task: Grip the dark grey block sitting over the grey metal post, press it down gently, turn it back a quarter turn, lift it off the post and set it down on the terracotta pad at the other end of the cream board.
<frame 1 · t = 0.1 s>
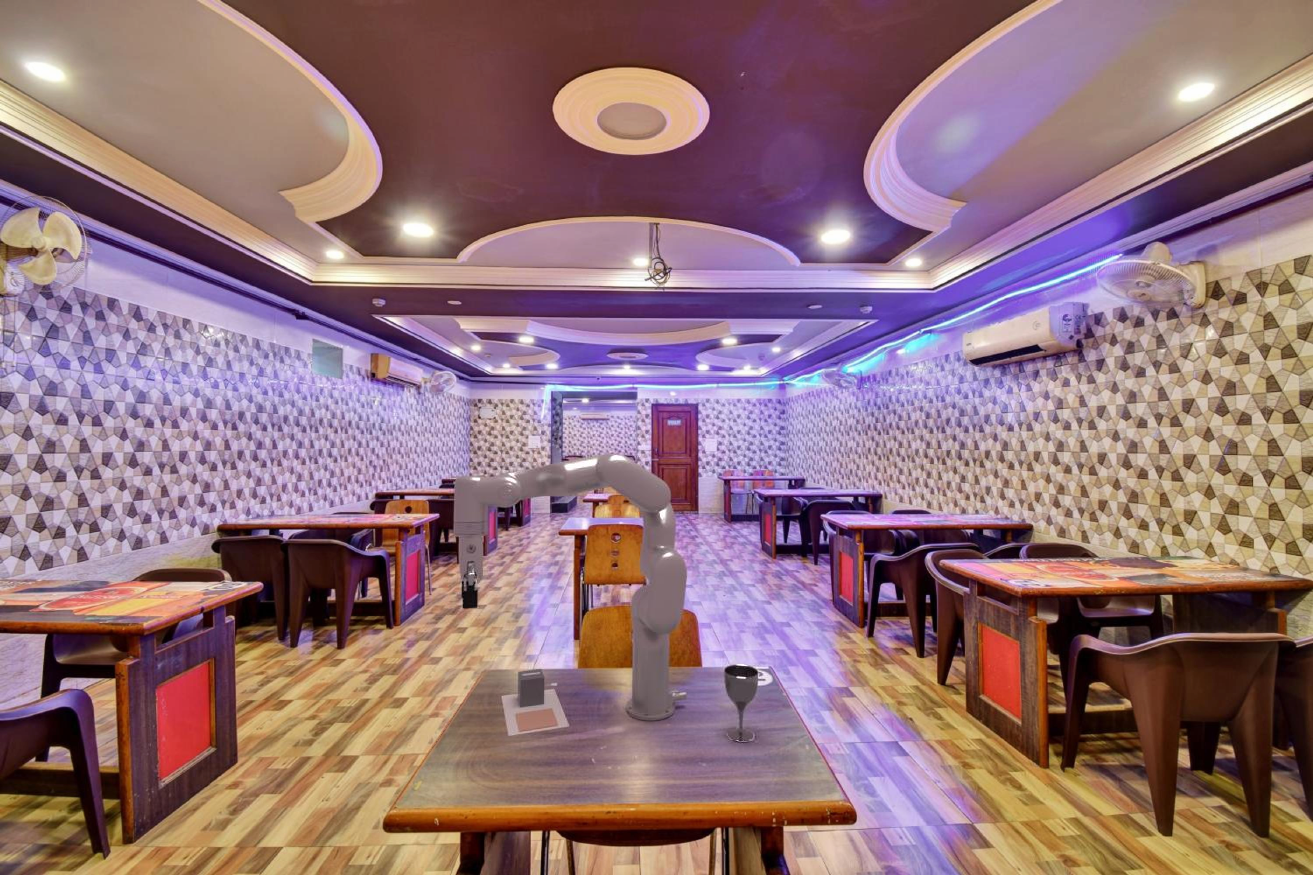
hand: (469, 602, 129), 31 cm above the table, tool pointing down, fingers open, 9 cm apart
post: (530, 706, 144), resting on board
dark grey block: (530, 700, 144), point 1 cm above the table, touching board
wine glass: (740, 735, 131), on the table
board: (533, 716, 139), on the table
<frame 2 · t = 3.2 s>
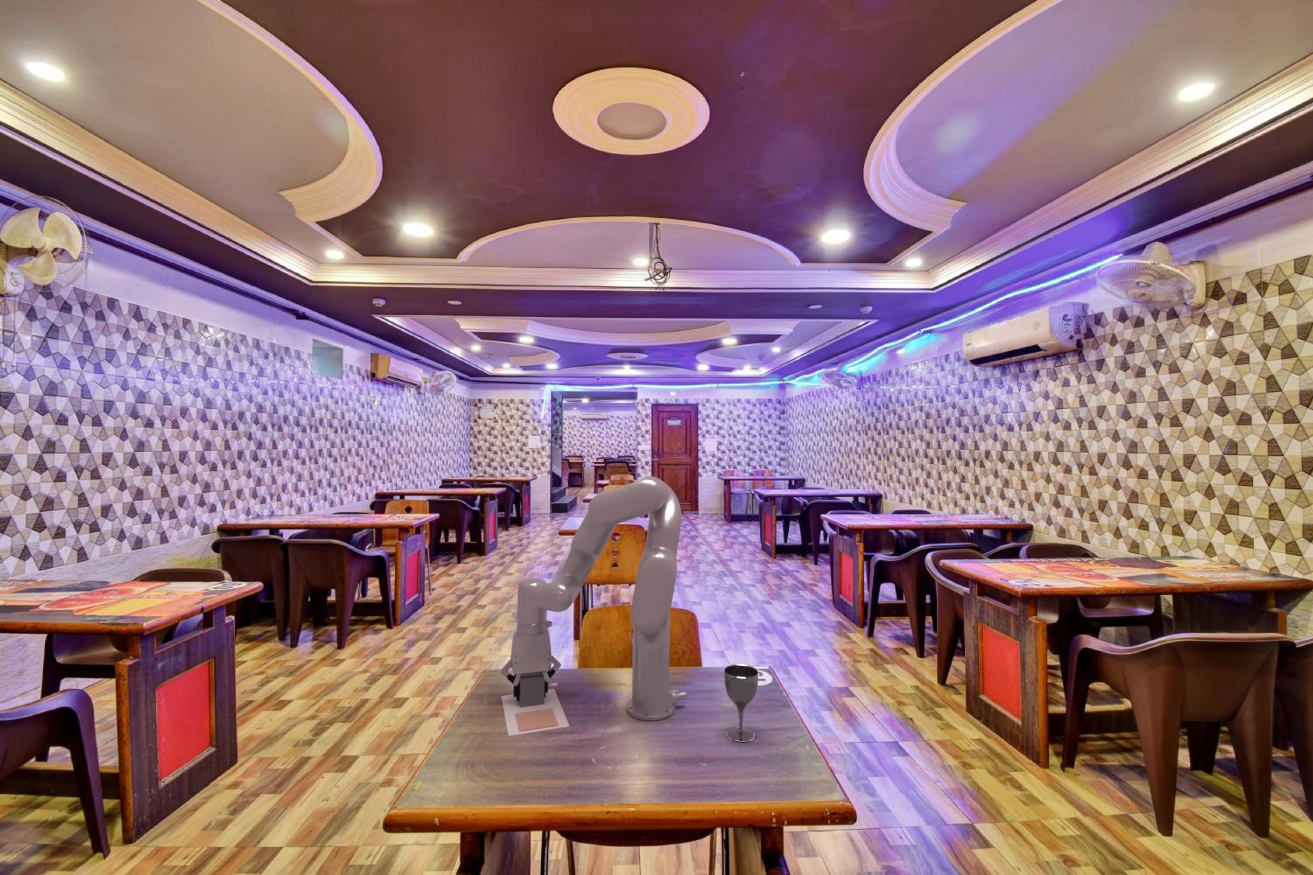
hand: (530, 696, 145), 3 cm above the table, tool pointing down, fingers closed on dark grey block, 5 cm apart
dark grey block: (530, 700, 144), point 1 cm above the table, touching board, gripper
everything else where it was.
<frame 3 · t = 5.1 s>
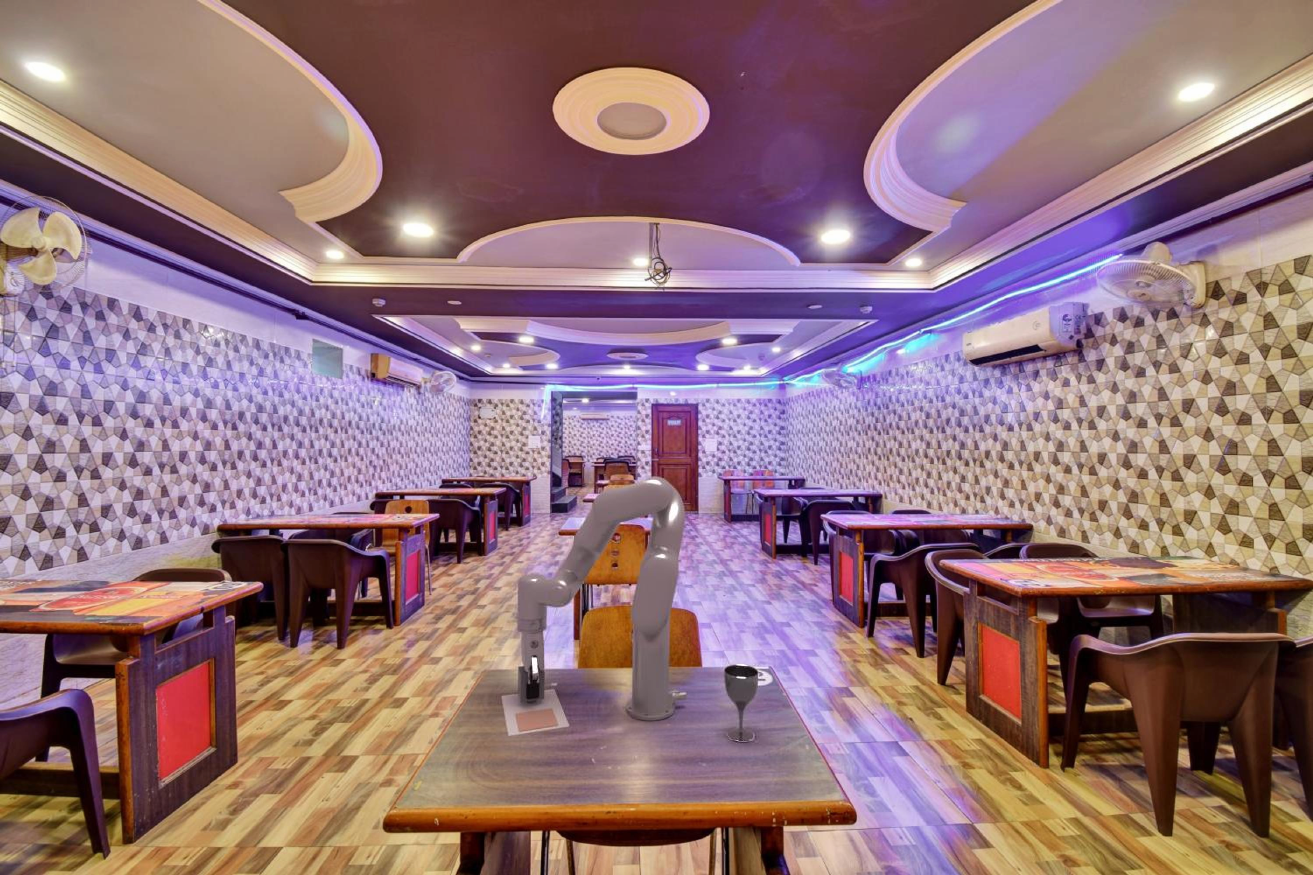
hand: (531, 692, 145), 4 cm above the table, tool pointing down, fingers closed on dark grey block, 5 cm apart
dark grey block: (530, 695, 144), point 3 cm above the table, touching gripper
everything else where it was.
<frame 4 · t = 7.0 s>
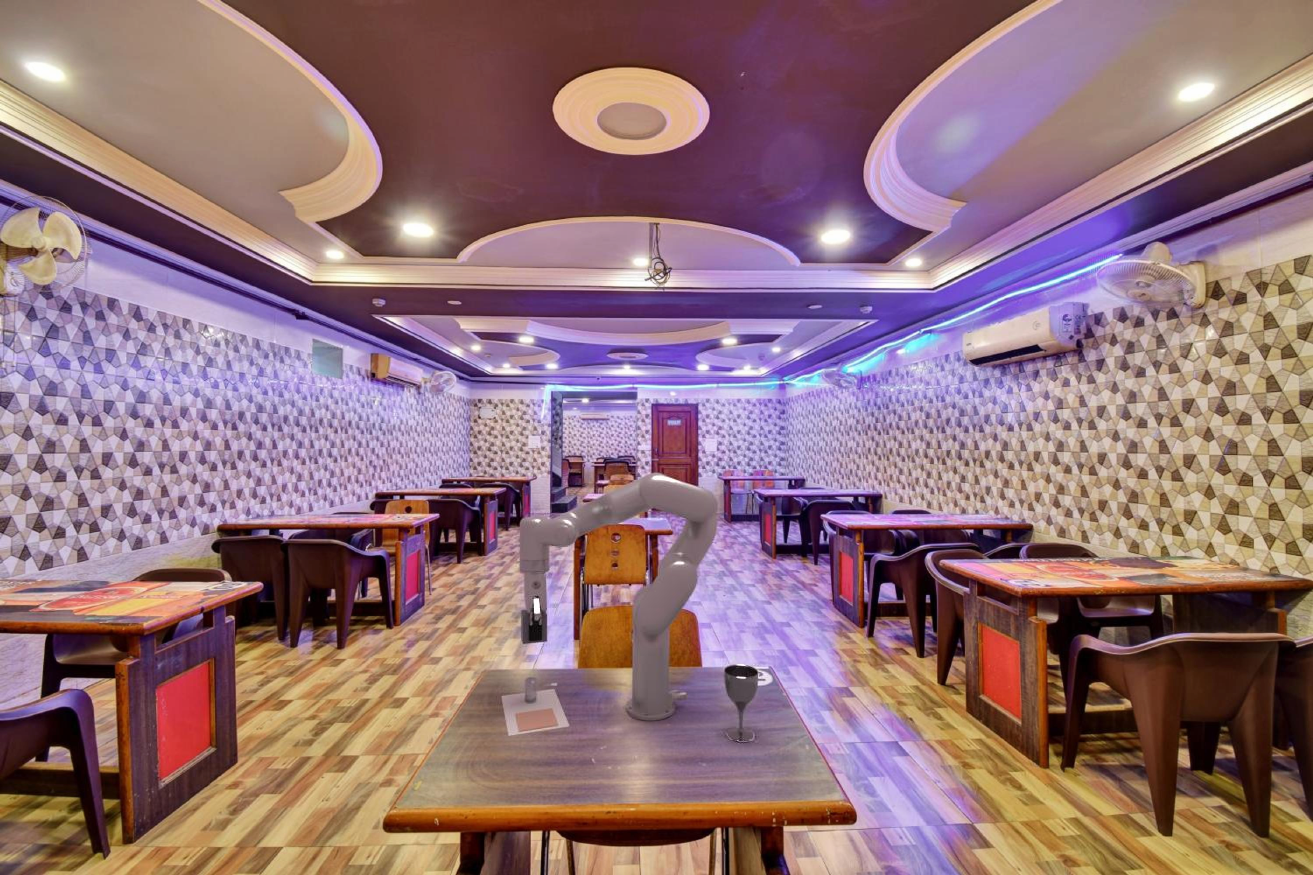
hand: (534, 635, 142), 19 cm above the table, tool pointing down, fingers closed on dark grey block, 5 cm apart
dark grey block: (533, 638, 142), point 18 cm above the table, touching gripper
everything else where it was.
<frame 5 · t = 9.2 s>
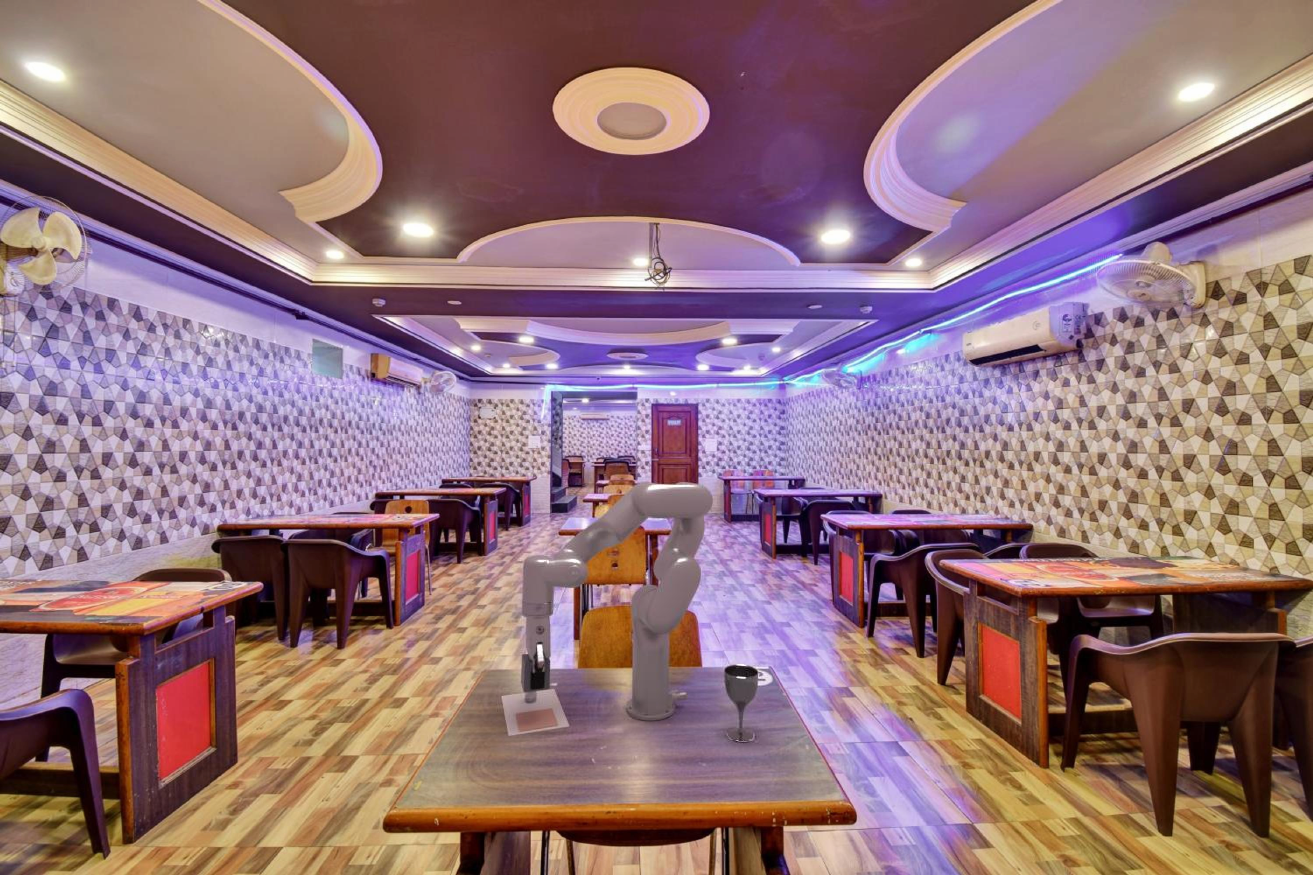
hand: (535, 682, 134), 11 cm above the table, tool pointing down, fingers closed on dark grey block, 5 cm apart
dark grey block: (535, 685, 134), point 10 cm above the table, touching gripper
everything else where it was.
when the fingers open (4 cm above the table, at t = 10.9 s): dark grey block drops 2 cm, resting on board.
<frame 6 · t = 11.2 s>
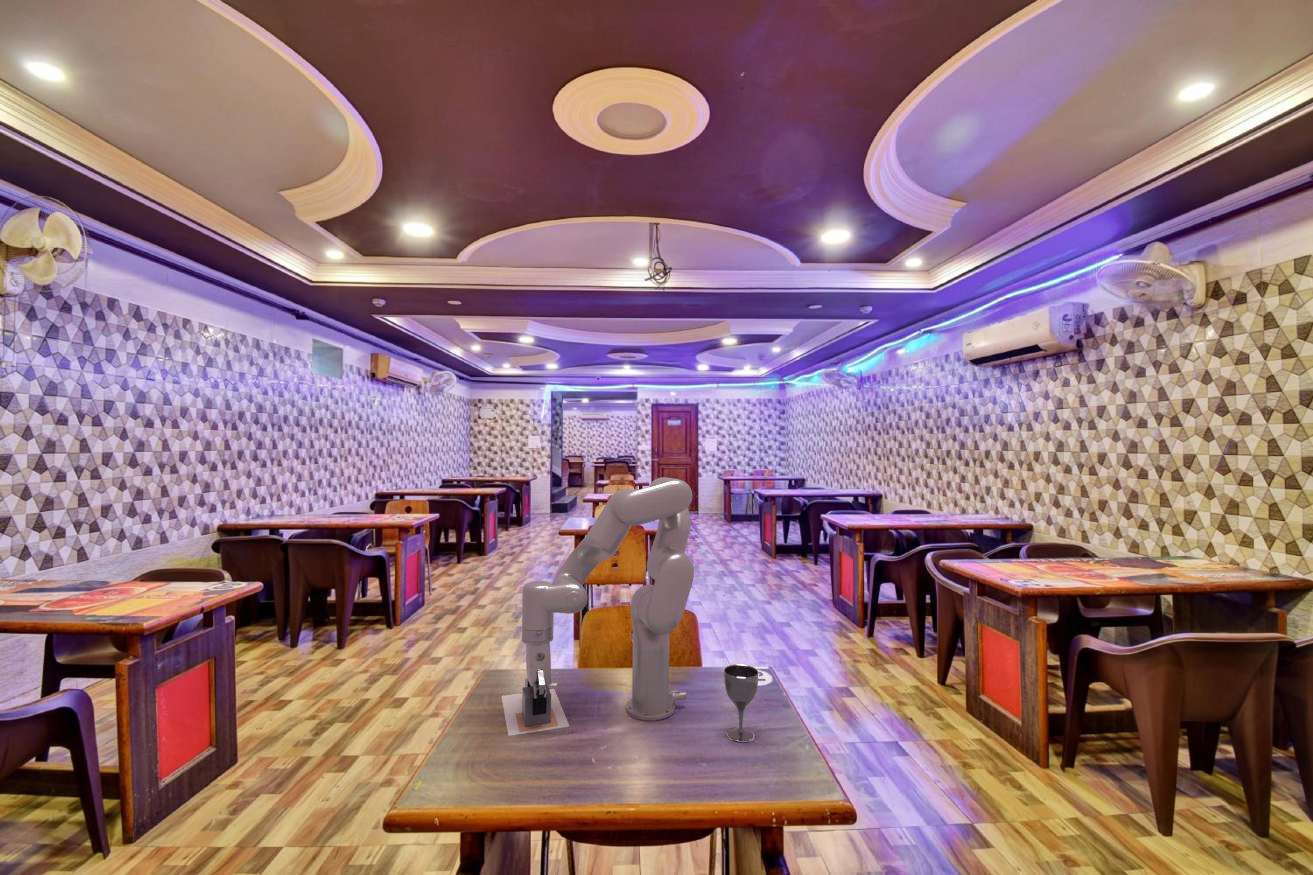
hand: (536, 705, 134), 5 cm above the table, tool pointing down, fingers open, 9 cm apart
dark grey block: (536, 719, 134), point 2 cm above the table, touching board
everything else where it was.
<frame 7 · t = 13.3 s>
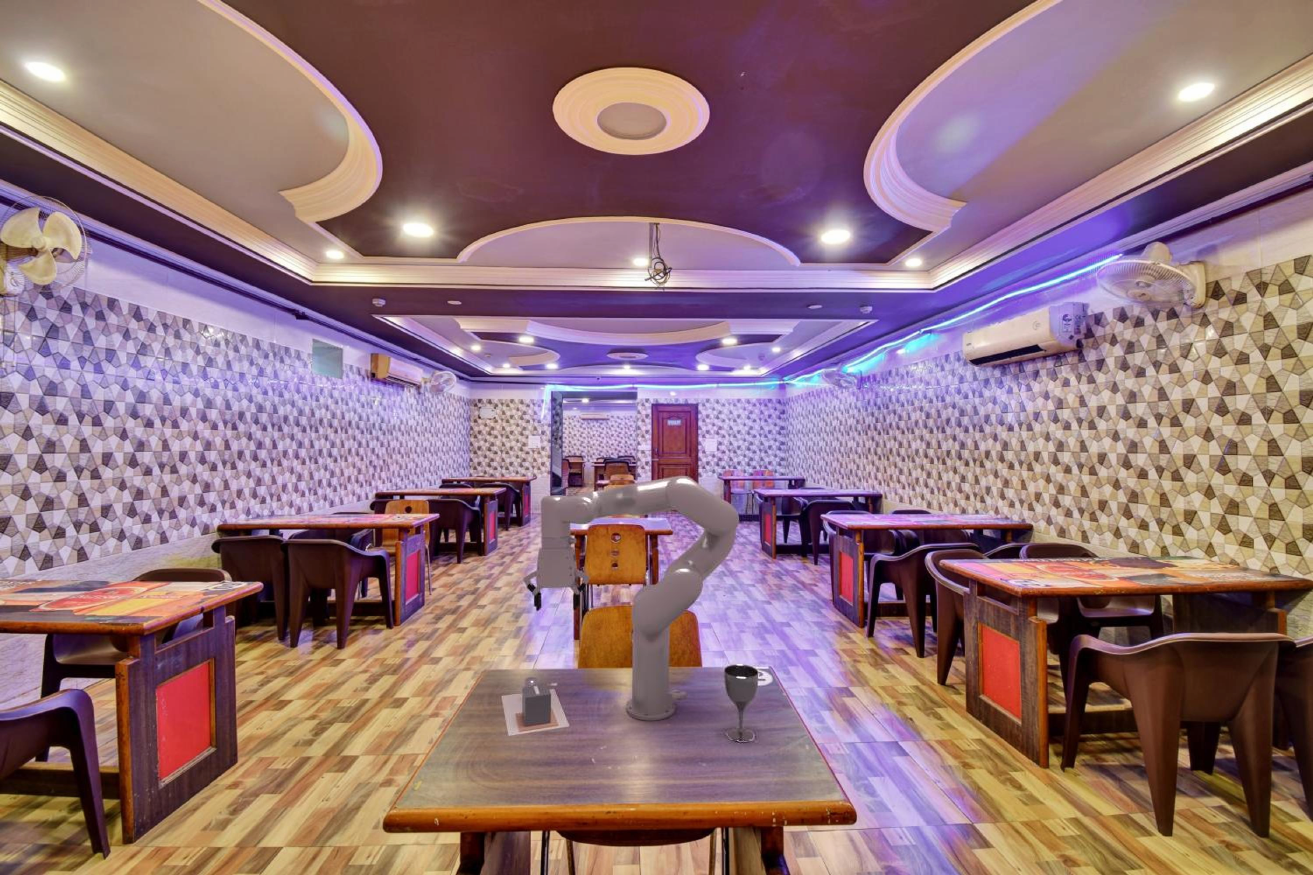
hand: (557, 609, 144), 25 cm above the table, tool pointing down, fingers open, 9 cm apart
nothing on the table moved.
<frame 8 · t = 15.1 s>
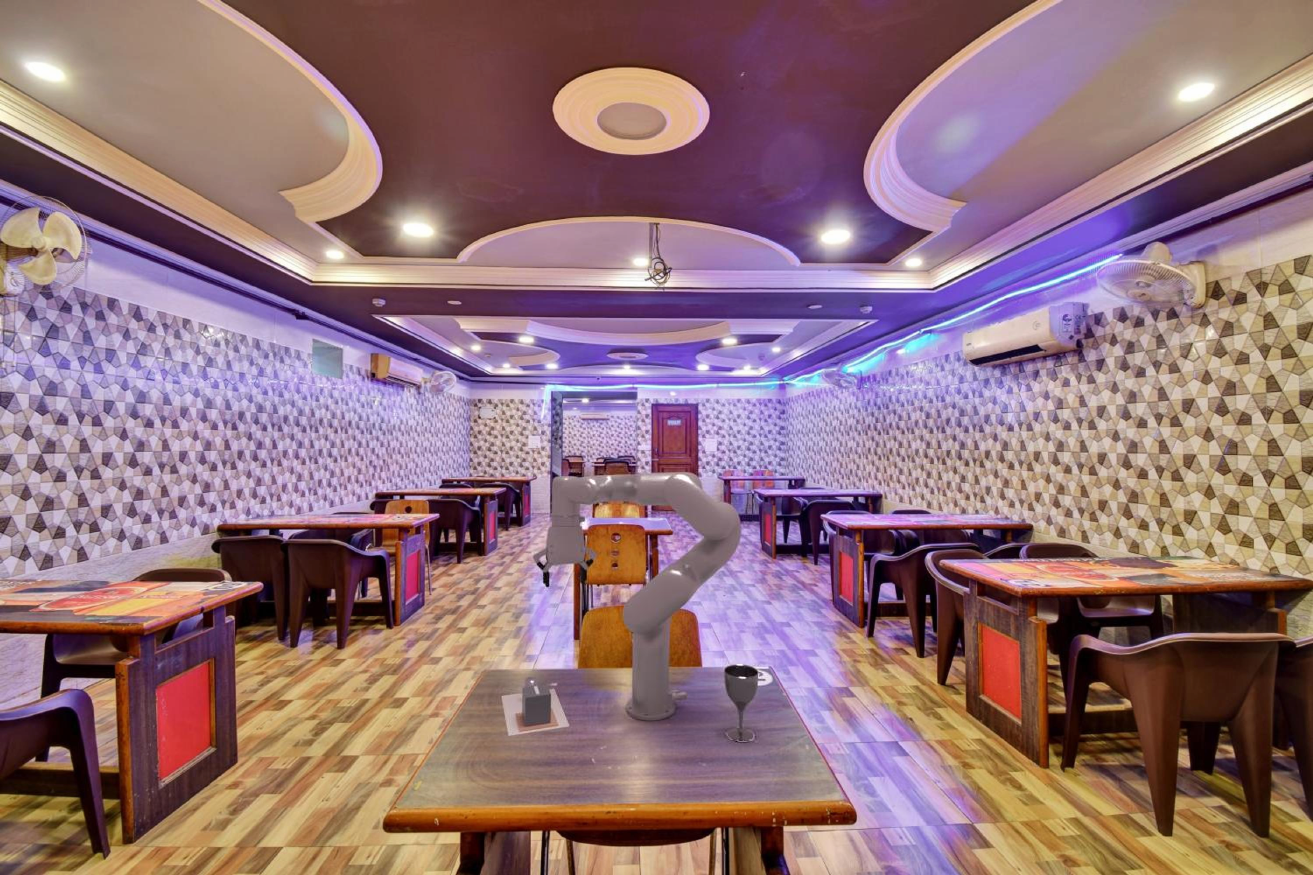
hand: (564, 584, 151), 30 cm above the table, tool pointing down, fingers open, 9 cm apart
nothing on the table moved.
at the end: dark grey block inside the target area on the board (0.2 cm from its centre), point 1.8 cm above the board's base; dark grey block tilted 0°; the gripper is holding nothing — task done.
